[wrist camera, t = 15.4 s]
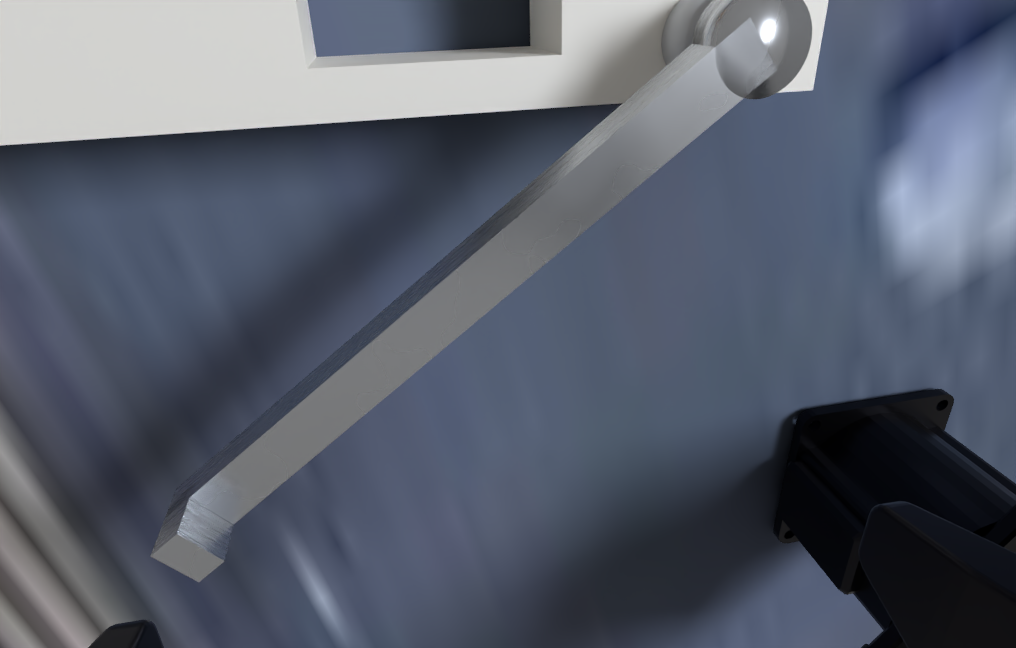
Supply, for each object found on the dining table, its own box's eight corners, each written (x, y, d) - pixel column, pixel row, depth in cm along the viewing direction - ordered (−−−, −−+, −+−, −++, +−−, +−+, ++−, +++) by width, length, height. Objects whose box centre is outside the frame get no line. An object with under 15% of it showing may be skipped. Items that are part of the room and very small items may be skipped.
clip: (755, -38, 12) (823, -44, 11) (797, 48, 13) (866, 56, 12) (161, 480, 15) (133, 547, 13) (231, 522, 16) (213, 590, 14)
